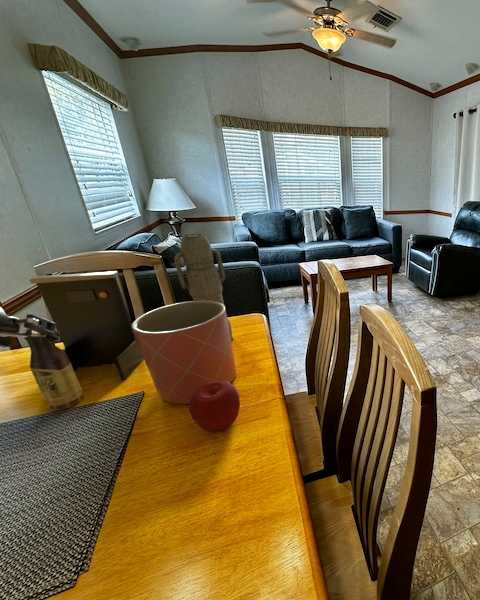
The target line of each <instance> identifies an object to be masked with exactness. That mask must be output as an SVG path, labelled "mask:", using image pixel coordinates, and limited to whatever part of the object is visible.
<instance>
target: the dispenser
mask: <svg viewBox="0 0 480 600" xmlns="http://www.w3.org/2000/svg"><path fill="white" fill-rule="evenodd" d="M118 276H120V274H119V272H118V270H114V271H100V272H99V271H98V272H97V271H96V272H81V273H69V274H68V273H67V274H53V275H37V276H34V277H31V278H29V279H28V280H29V282H30V284H31V285H32V284H36V286H37V288H38V291H39V294H40V295H41V297H42V300H43V302H44V304H45V306H46V309H47V311H48V313H49V315H50V318H51V320H52V322H54V323H56V327H55V330H56V331H57V332H60V336H59V339H60V340H61V342H62V345H63V347H64V348H61V349H62V350H63V351H64V352H65V353H66V355H67V357H68V359H69V361H70V363H71V365H72V367H73V370H74V372H75V373H76V371H78V370H79V369H87V368H94V367H102V366H110V365H111V366H112V365H114V366H115V369H116V372H117V374H118V376H119V379H120V381H121V382H125V381H127V379H128V378H129V377H131V375H132V374H133V373H134V371H135V370H136V369H137V368H138V367H139V366H140V365H141V364H142V363H143V361H145V360H144V358H143V356H142V353H141V350H140V348H139V345H138V343H137V340H136V338H135V335H134V333H133V330H132V324H133V322H132V320H131V316H130V314H129V311H128V309H127V306H126V302H125V300H124V297H123V293H122V291H121V287H120V285H119V282H118V279H117V277H118Z"/></svg>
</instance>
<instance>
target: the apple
mask: <svg viewBox="0 0 480 600" xmlns="http://www.w3.org/2000/svg"><path fill="white" fill-rule="evenodd" d="M240 398H241V397H240V393H239V391H238V389H237V387H236V385H234V384H232V382H230V383H229V382H227V381H223V380H215V381H211V382H208V383H206V384H204V385H203V386H201V387H200V388H199V389H198V390H197V391H196V392H195V393H194V394H193V395H192V397H191V399H190V402H189V404H188V410H189V414H190V416H191V418H192V420H193V421H194V422H195V423H196V425H198V427H199V428H201V429H202V430H205V431H208V432H218V431H222V430H226V429H227V428H229V427H230V426H232V425H233V424H234V423H235V422H236V420H237V418H238V416H239V412H240V408H241V407H240V406H241V401H240V400H241V399H240Z"/></svg>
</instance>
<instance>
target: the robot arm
mask: <svg viewBox="0 0 480 600" xmlns="http://www.w3.org/2000/svg"><path fill="white" fill-rule="evenodd" d="M21 326H23V328H24V330H23V332H20V330H21ZM32 330H34V331H37V332H38V333H35V332H32ZM29 336H34V337H40V338H43V339H46V340H49V341H51V342H54V343H56V342H58V341H59V339H60V332H58V331H57V330H56V323H54V322H53V321H51V320H48V319H46V318H44V317H41V316H38V315H36V314H26V317H25V318H18V317H15V316H13V315H7V313H6V312H5V310H4V309H3V308H2V306H0V347H2V348H9V347H11V344H12V341H13V339H12V337H13V338H23V339H24V338H27V337H29Z"/></svg>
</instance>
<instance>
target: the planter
mask: <svg viewBox="0 0 480 600" xmlns="http://www.w3.org/2000/svg"><path fill="white" fill-rule="evenodd" d="M224 306H225V304H224V305H223V304H221V303H218V302H214V301H194V300H191V301H190V300H189V301H182V302H177V303H173V304H169V305H164V306H161V307H158V308H156V309H153V310H151V311H148V312H146V313H143V314H142V315H140V316H139V317H136V319H135V320H134V321H133V322H132V330H133V333H134V335H135V338H136V340H137V343H138V345H139V348H140V350H141V353H142V356H143V358H144V360H143V361H144V363H145V365H146V368H147V370H148V372H149V375H150V378H151V380H152V383H153V385H154V387H155V390H156V392H157V394H158V396H159V397H160V399H162V400H163V401H166V402H169V403H173V404H184V405H185V404H186V405H187V404H188V405H189V402H190V399H191V397H192V395H193V394H194V393H195V392H196V391H197V390H198V389H199V388H200V387H201V386H203V385H204V384H206V383H208V382H211V381H215V380H223V381H227V382H229V383H232V382H233V380H234V379H235V377H237V366H236V361H235V355H234V354H235V353H234V350H233V342H231V337H230V331H229V326H228V321H227V318H228V316H226V315H227V311H226V306H225V307H224Z"/></svg>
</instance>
